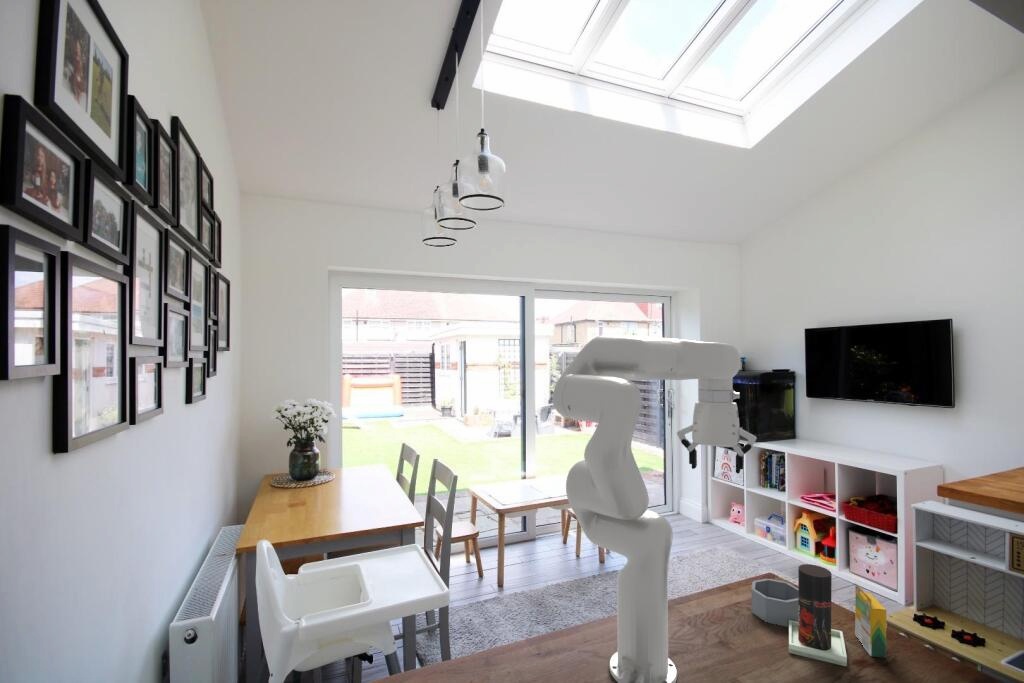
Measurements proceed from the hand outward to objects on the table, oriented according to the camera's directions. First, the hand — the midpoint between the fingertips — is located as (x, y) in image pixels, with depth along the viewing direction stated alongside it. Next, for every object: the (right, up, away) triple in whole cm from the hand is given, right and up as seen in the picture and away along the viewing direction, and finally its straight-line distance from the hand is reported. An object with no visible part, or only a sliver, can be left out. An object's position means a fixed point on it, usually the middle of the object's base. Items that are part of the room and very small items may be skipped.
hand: (715, 469), depth 123 cm
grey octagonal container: (+14, -33, -1) cm, 36 cm away
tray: (+16, -33, -14) cm, 39 cm away
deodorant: (+15, -33, -14) cm, 39 cm away
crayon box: (+26, -33, -14) cm, 45 cm away
